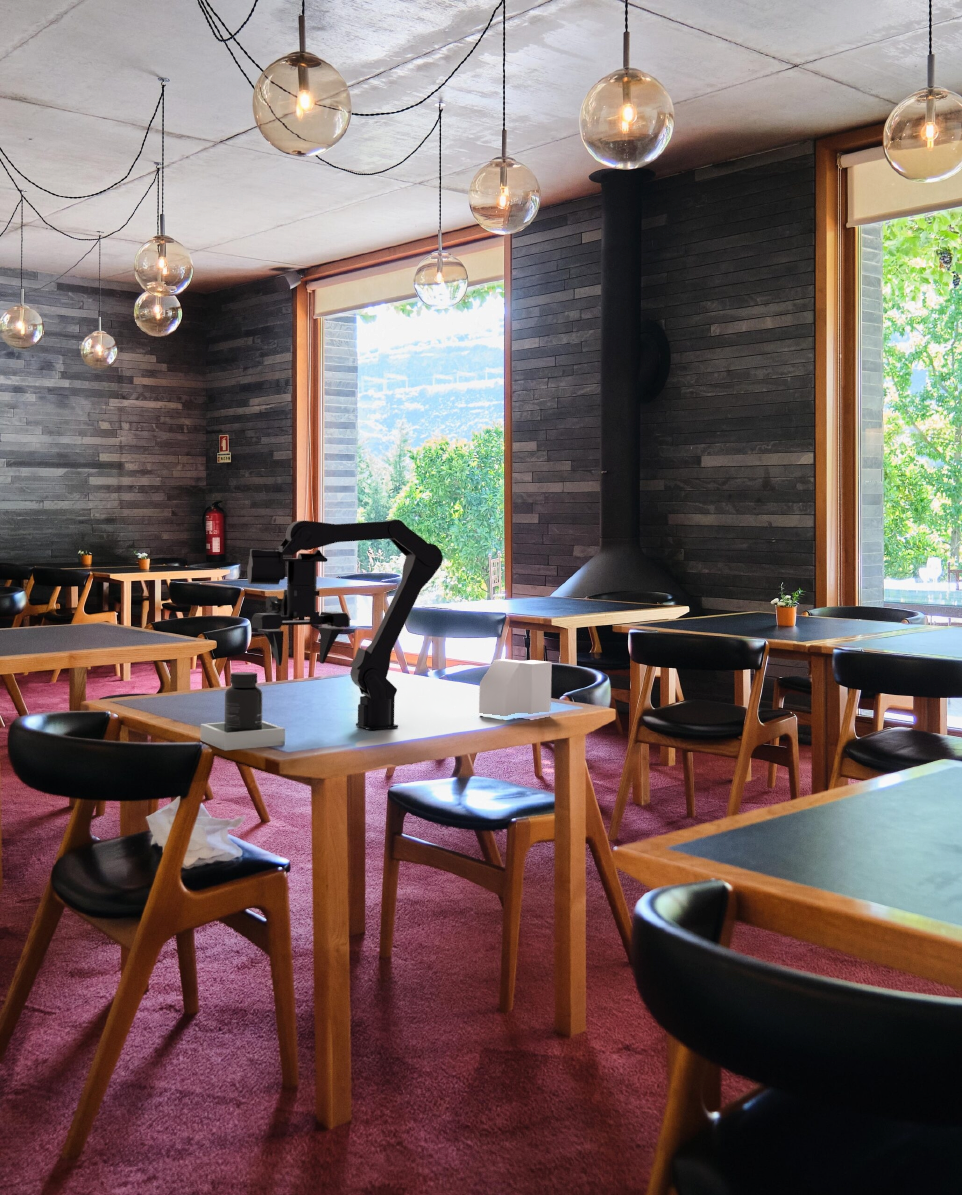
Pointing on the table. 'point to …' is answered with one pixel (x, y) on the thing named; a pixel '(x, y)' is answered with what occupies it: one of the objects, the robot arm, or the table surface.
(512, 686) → the white chamfered block
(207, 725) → the tray
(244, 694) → the supplement bottle
